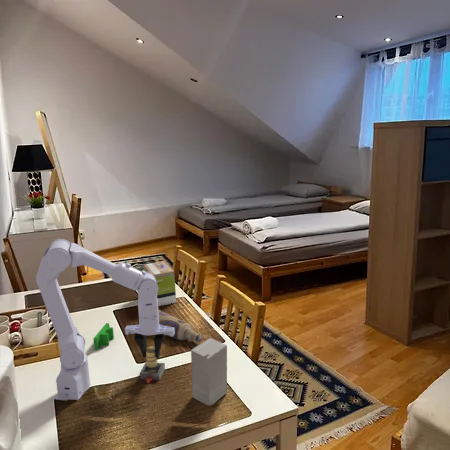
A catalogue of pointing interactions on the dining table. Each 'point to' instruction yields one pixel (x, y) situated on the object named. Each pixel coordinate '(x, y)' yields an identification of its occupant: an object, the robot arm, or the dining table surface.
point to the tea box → (163, 282)
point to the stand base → (151, 375)
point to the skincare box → (209, 371)
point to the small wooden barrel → (151, 357)
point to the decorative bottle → (179, 328)
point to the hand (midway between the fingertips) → (151, 356)
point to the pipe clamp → (103, 336)
